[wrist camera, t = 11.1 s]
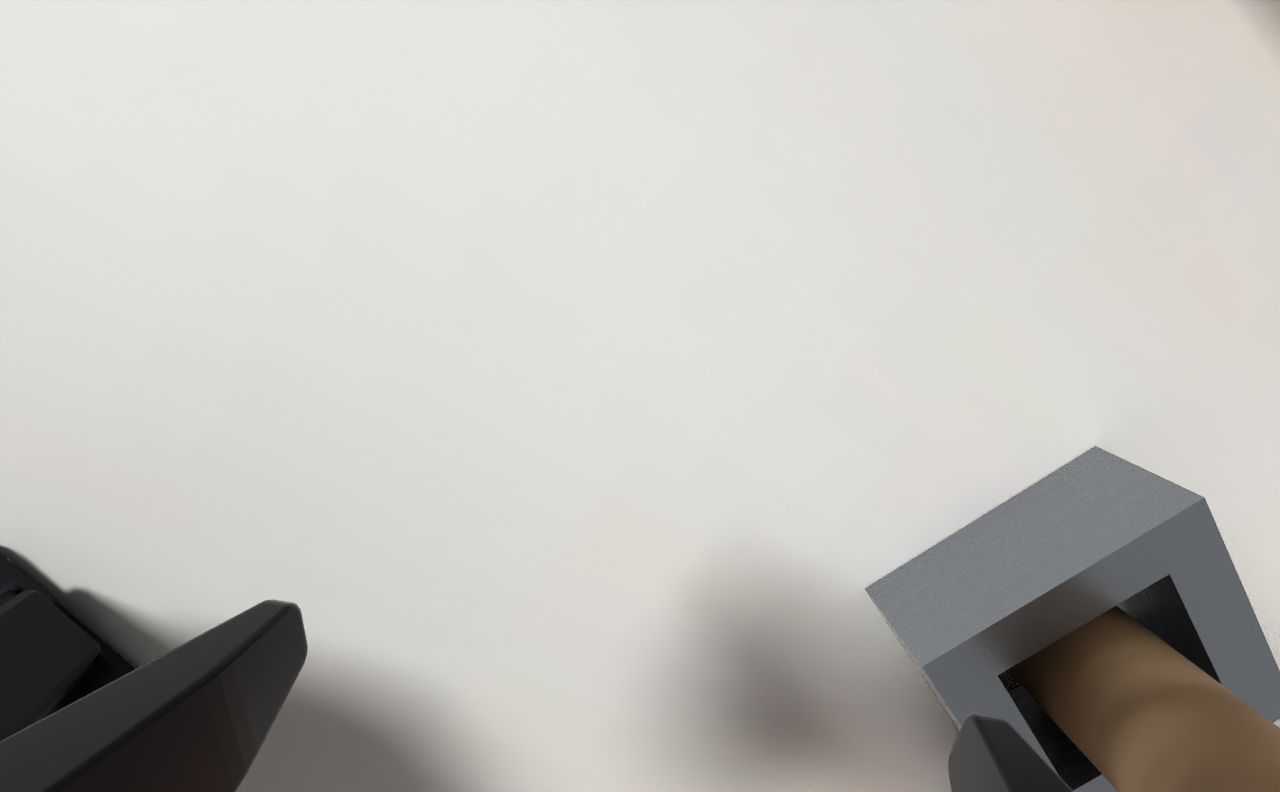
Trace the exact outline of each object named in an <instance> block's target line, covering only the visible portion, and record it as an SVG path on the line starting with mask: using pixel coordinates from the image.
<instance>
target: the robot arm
mask: <svg viewBox="0 0 1280 792" xmlns="http://www.w3.org/2000/svg"><path fill="white" fill-rule="evenodd" d="M306 656H307V640H306V635H305V630H304V625H303V619H302V614H301V610H300V608H299V607H298V606H297V604H295V603H291V602H285V601H278V600H266V601H264V602H261V603H259V604H257V605H255V606H254V607H252V608H250V609H248V610H246V611H244V612H242V613H240V614H239V615H237V616H235V617H233V618H231V619H229V620H227V621H225V622H224V623H222V624H220V625H218V626H216V627H214V628H212V629H210V630H209V631H207V632H205V633H203V634H201V635H199V636H197V637H195V638H194V639H192V640H190V641H188V642H186V643H184V644H182V645H180V646H179V647H177V648H175V649H173V650H171V651H169V652H167V653H165V654H164V655H162V656H160V657H158V658H156V659H154V660H152V661H150V662H149V663H147V664H145V665H143V666H141V667H139V668H137V669H134V668H133V667H132V666H131V665H130V664H129V663H127V662H126V661H125V660H124V659H123V658H122V657H121V656H119V655H118V654H117V653H116V652H115V651H114V650H112V649H111V648H110V647H109V646H108V645H107V644H105V643H104V642H103V641H102V640H101V639H100V638H98V637H97V636H96V635H95V634H94V633H93V632H91V631H90V630H89V629H88V628H87V627H86V626H85V625H83V624H82V623H81V622H80V621H79V620H78V619H76V618H75V617H74V616H73V615H72V614H71V613H69V612H68V611H67V610H66V609H65V608H64V607H62V606H61V605H60V604H59V603H58V602H57V601H55V600H54V599H53V598H52V597H51V596H50V595H49V594H47V593H46V592H45V591H44V590H43V589H42V588H40V587H39V586H38V585H37V584H36V583H35V582H33V581H32V580H31V579H30V578H29V577H28V576H26V575H25V574H24V573H23V572H22V571H21V570H20V569H18V568H17V567H16V566H15V565H14V564H13V563H11V562H10V561H9V560H8V559H7V558H6V557H4V556H3V555H2V554H1V553H0V792H235V791H236V790H237V788H238V787H239V785H240V783H241V782H242V780H243V778H244V777H245V775H246V774H247V772H248V770H249V768H250V766H251V765H252V763H253V761H254V759H255V757H256V755H257V754H258V752H259V750H260V748H261V746H262V744H263V742H264V740H265V738H266V736H267V734H268V732H269V730H270V729H271V727H272V725H273V723H274V721H275V719H276V717H277V715H278V713H279V711H280V709H281V707H282V705H283V703H284V701H285V700H286V698H287V696H288V694H289V692H290V690H291V688H292V686H293V684H294V682H295V680H296V678H297V676H298V674H299V672H300V671H301V669H302V667H303V664H304V662H305V659H306ZM948 768H949V778H950V784H951V790H952V792H1074V791H1073V790H1072V789H1071V788H1070V787H1069V786H1068V785H1067V784H1066V783H1065V782H1064V781H1063V780H1062V779H1061V778H1060V777H1059V776H1058V774H1057V773H1056V772H1055V771H1054V770H1053V769H1052V768H1051V767H1050V766H1049V765H1048V764H1047V763H1046V762H1045V761H1044V760H1043V759H1042V757H1041V756H1040V755H1039V754H1038V753H1037V752H1036V751H1035V750H1034V749H1033V748H1032V747H1031V746H1030V745H1029V744H1028V743H1027V742H1026V740H1025V739H1024V738H1023V737H1022V736H1021V735H1020V734H1019V733H1018V732H1017V731H1016V730H1015V729H1014V728H1013V727H1012V726H1011V725H1010V724H1009V723H1008V722H1007V721H1006V720H1004V719H1003V718H1000V717H997V716H990V715H984V714H978V713H970V714H969V715H967V716H966V718H965V719H964V721H963V724H962V726H961V728H960V731H959V733H958V736H957V738H956V740H955V743H954V745H953V748H952V750H951V753H950V756H949V764H948Z"/></svg>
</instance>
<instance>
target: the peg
mask: <svg viewBox="0 0 1280 792" xmlns="http://www.w3.org/2000/svg"><path fill="white" fill-rule="evenodd" d="M1008 671H1009V672H1010V674H1011V675H1012V676H1013V677H1014V678H1015V679H1016V680H1017V681H1018V682H1019V683H1020V684H1021V686H1022V687H1023V688H1024V689H1025V690H1026V691H1027V692H1028V693H1029V694H1030V695H1031V697H1032V698H1033V699H1034V700H1035V701H1036V702H1037V703H1038V704H1039V705H1040V706H1041V708H1042V709H1043V710H1044V711H1045V712H1046V713H1047V714H1048V715H1049V716H1050V717H1051V719H1052V720H1053V721H1054V722H1055V723H1056V724H1057V725H1058V726H1059V727H1060V728H1061V730H1062V731H1063V732H1064V733H1065V734H1066V735H1067V736H1068V737H1069V738H1070V739H1071V741H1072V742H1073V743H1074V744H1075V745H1076V746H1077V747H1078V748H1079V749H1080V750H1081V752H1082V753H1083V754H1084V755H1085V756H1086V757H1087V758H1088V759H1089V760H1090V761H1091V763H1092V764H1093V765H1094V766H1095V767H1096V768H1097V769H1098V770H1099V771H1100V772H1101V774H1102V775H1103V776H1104V777H1105V778H1106V779H1107V780H1108V781H1109V782H1110V783H1111V785H1112V786H1113V787H1114V788H1115V789H1116V790H1117V791H1118V792H1280V728H1279V727H1277V726H1276V725H1275V724H1273V723H1272V722H1271V721H1269V720H1268V719H1267V718H1265V717H1264V716H1263V715H1261V714H1260V713H1259V712H1257V711H1256V710H1255V709H1253V708H1252V707H1251V706H1249V705H1248V704H1247V703H1245V702H1244V701H1243V700H1241V699H1240V698H1239V697H1237V696H1236V695H1235V694H1233V693H1232V692H1231V691H1229V690H1228V689H1227V688H1225V687H1224V686H1223V685H1221V684H1220V683H1219V682H1217V681H1216V680H1215V679H1213V678H1212V677H1211V676H1209V675H1208V674H1207V673H1205V672H1204V671H1203V670H1201V669H1200V668H1199V667H1197V666H1196V665H1195V664H1193V663H1192V662H1191V661H1190V660H1188V659H1187V658H1186V657H1184V656H1183V655H1182V654H1180V653H1179V652H1178V651H1176V650H1175V649H1174V648H1172V647H1171V646H1170V645H1168V644H1167V643H1166V642H1164V641H1163V640H1162V639H1160V638H1159V637H1158V636H1156V635H1155V634H1154V633H1152V632H1151V631H1150V630H1148V629H1147V628H1146V627H1144V626H1143V625H1142V624H1140V623H1139V622H1138V621H1136V620H1135V619H1134V618H1132V617H1131V616H1130V615H1128V614H1127V613H1126V612H1124V611H1123V610H1122V609H1120V608H1119V607H1118V606H1114V607H1113V608H1111V609H1109V610H1108V611H1106V612H1104V613H1103V614H1101V615H1099V616H1098V617H1096V618H1094V619H1092V620H1091V621H1089V622H1087V623H1086V624H1084V625H1082V626H1081V627H1079V628H1077V629H1076V630H1074V631H1072V632H1070V633H1069V634H1067V635H1065V636H1064V637H1062V638H1060V639H1059V640H1057V641H1055V642H1053V643H1052V644H1050V645H1048V646H1047V647H1045V648H1043V649H1042V650H1040V651H1038V652H1037V653H1035V654H1033V655H1031V656H1030V657H1028V658H1026V659H1025V660H1023V661H1021V662H1020V663H1018V664H1016V665H1015V666H1013V667H1011V668H1009V669H1008Z"/></svg>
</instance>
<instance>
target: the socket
mask: <svg viewBox="0 0 1280 792" xmlns="http://www.w3.org/2000/svg"><path fill="white" fill-rule="evenodd" d="M865 590H866V591H867V593H868V594H869V596H870V597H871V599H872V601H873V602H874V604H875V605H876V607H877V608H878V610H879V611H880V613H881V614H882V616H883V617H884V619H885V620H886V622H887V623H888V625H889V626H890V628H891V629H892V631H893V632H894V634H895V635H896V637H897V638H898V640H899V641H900V643H901V644H902V646H903V647H904V649H905V650H906V652H907V653H908V655H909V656H910V658H911V659H912V661H913V662H914V664H915V665H916V667H917V668H918V670H919V671H920V673H921V674H922V676H923V678H924V679H925V681H926V682H927V684H928V685H929V687H930V688H931V690H932V691H933V693H934V694H935V696H936V697H937V699H938V700H939V702H940V703H941V705H942V706H943V708H944V709H945V711H946V712H947V714H948V715H949V717H950V718H951V720H952V721H953V723H954V724H955V726H956V727H957V729H958V730H959V731H960V728H961V726H962V724H963V721H964V719H965V718H966V716H967V715H969V714H970V713H978V714H984V715H990V716H997V717H1000V718H1003V719H1004V720H1006V721H1007V722H1008V723H1009V724H1010V725H1011V726H1012V727H1013V728H1014V729H1015V730H1016V731H1017V732H1018V733H1019V734H1020V735H1021V736H1022V737H1023V738H1024V739H1025V740H1026V742H1027V743H1028V744H1029V745H1030V746H1031V747H1032V748H1033V749H1034V750H1035V751H1036V752H1037V753H1038V754H1039V755H1040V756H1041V757H1042V759H1043V760H1044V761H1045V762H1046V763H1047V764H1048V765H1049V766H1050V767H1051V768H1052V769H1053V770H1054V771H1055V772H1056V773H1057V774H1058V776H1059V777H1060V778H1061V779H1062V780H1063V781H1064V782H1065V783H1066V784H1067V785H1068V786H1069V787H1070V788H1071V789H1072V790H1073V791H1074V792H1118V791H1117V790H1116V789H1115V788H1114V787H1113V786H1112V785H1111V783H1110V782H1109V781H1108V780H1107V779H1106V778H1105V777H1104V776H1103V775H1102V774H1101V772H1100V771H1099V770H1098V769H1097V768H1096V767H1095V766H1094V765H1093V764H1092V763H1091V761H1090V760H1089V759H1088V758H1087V757H1086V756H1085V755H1084V754H1083V753H1082V752H1081V750H1080V749H1079V748H1078V747H1077V746H1076V745H1075V744H1074V743H1073V742H1072V741H1071V739H1070V738H1069V737H1068V736H1067V735H1066V734H1065V733H1064V732H1063V731H1062V730H1061V728H1060V727H1059V726H1058V725H1057V724H1056V723H1055V722H1054V721H1053V720H1052V719H1051V717H1050V716H1049V715H1048V714H1047V713H1046V712H1045V711H1044V710H1043V709H1042V708H1041V706H1040V705H1039V704H1038V703H1037V702H1036V701H1035V700H1034V699H1033V698H1032V697H1031V695H1030V694H1029V693H1028V692H1027V691H1026V690H1025V689H1024V688H1023V687H1022V686H1021V685H1020V686H1018V687H1017V688H1015V689H1013V690H1012V691H1010V692H1007V690H1006V689H1005V687H1004V685H1003V684H1002V682H1001V680H1000V679H999V677H998V675H999V674H1001V673H1003V672H1004V671H1006V670H1008V669H1009V668H1011V667H1013V666H1015V665H1016V664H1018V663H1020V662H1021V661H1023V660H1025V659H1026V658H1028V657H1030V656H1031V655H1033V654H1035V653H1037V652H1038V651H1040V650H1042V649H1043V648H1045V647H1047V646H1048V645H1050V644H1052V643H1053V642H1055V641H1057V640H1059V639H1060V638H1062V637H1064V636H1065V635H1067V634H1069V633H1070V632H1072V631H1074V630H1076V629H1077V628H1079V627H1081V626H1082V625H1084V624H1086V623H1087V622H1089V621H1091V620H1092V619H1094V618H1096V617H1098V616H1099V615H1101V614H1103V613H1104V612H1106V611H1108V610H1109V609H1111V608H1113V607H1114V606H1116V605H1118V606H1119V608H1120V609H1122V610H1123V611H1124V612H1126V613H1127V614H1128V615H1130V616H1131V617H1132V618H1134V619H1135V620H1136V621H1138V622H1139V623H1140V624H1142V625H1143V626H1144V627H1146V628H1147V629H1148V630H1150V631H1151V632H1152V633H1154V634H1155V635H1156V636H1158V637H1159V638H1160V639H1162V640H1163V641H1164V642H1166V643H1167V644H1168V645H1170V646H1171V647H1172V648H1174V649H1175V650H1176V651H1178V652H1179V653H1180V654H1182V655H1183V656H1184V657H1186V658H1187V659H1188V660H1190V661H1191V662H1192V663H1193V664H1195V665H1196V666H1197V667H1199V668H1200V669H1201V670H1203V671H1204V672H1205V673H1207V674H1208V675H1209V676H1211V677H1212V678H1213V679H1215V680H1216V681H1217V682H1219V683H1220V684H1221V685H1223V686H1224V687H1225V688H1227V689H1228V690H1229V691H1231V692H1232V693H1233V694H1235V695H1236V696H1237V697H1239V698H1240V699H1241V700H1243V701H1244V702H1245V703H1247V704H1248V705H1249V706H1251V707H1252V708H1253V709H1255V710H1256V711H1257V712H1259V713H1260V714H1261V715H1263V716H1264V717H1265V718H1267V719H1268V720H1269V721H1271V722H1272V723H1273V722H1275V721H1276V720H1278V719H1280V671H1279V669H1278V666H1277V664H1276V662H1275V659H1274V657H1273V655H1272V652H1271V650H1270V648H1269V645H1268V643H1267V641H1266V639H1265V636H1264V634H1263V632H1262V629H1261V627H1260V625H1259V622H1258V620H1257V618H1256V615H1255V613H1254V611H1253V608H1252V606H1251V604H1250V602H1249V599H1248V597H1247V595H1246V592H1245V590H1244V588H1243V585H1242V583H1241V581H1240V578H1239V576H1238V574H1237V572H1236V569H1235V567H1234V565H1233V562H1232V560H1231V558H1230V555H1229V553H1228V551H1227V548H1226V546H1225V544H1224V541H1223V539H1222V537H1221V535H1220V532H1219V530H1218V528H1217V525H1216V523H1215V521H1214V518H1213V516H1212V514H1211V511H1210V509H1209V507H1208V504H1207V502H1206V500H1205V498H1204V497H1202V496H1200V495H1198V494H1196V493H1194V492H1192V491H1190V490H1187V489H1185V488H1183V487H1181V486H1179V485H1177V484H1175V483H1173V482H1171V481H1168V480H1166V479H1164V478H1162V477H1160V476H1158V475H1156V474H1154V473H1151V472H1149V471H1147V470H1145V469H1143V468H1141V467H1139V466H1137V465H1134V464H1132V463H1130V462H1128V461H1126V460H1124V459H1122V458H1120V457H1118V456H1115V455H1113V454H1111V453H1109V452H1107V451H1105V450H1103V449H1101V448H1098V447H1096V446H1095V447H1094V448H1092V449H1090V450H1089V451H1087V452H1085V453H1084V454H1082V455H1081V456H1079V457H1077V458H1076V459H1074V460H1072V461H1071V462H1069V463H1068V464H1066V465H1064V466H1063V467H1061V468H1060V469H1058V470H1056V471H1055V472H1053V473H1051V474H1050V475H1048V476H1047V477H1045V478H1043V479H1042V480H1040V481H1039V482H1037V483H1035V484H1034V485H1032V486H1030V487H1029V488H1027V489H1026V490H1024V491H1022V492H1021V493H1019V494H1017V495H1016V496H1014V497H1013V498H1011V499H1009V500H1008V501H1006V502H1005V503H1003V504H1001V505H1000V506H998V507H996V508H995V509H993V510H992V511H990V512H988V513H987V514H985V515H983V516H982V517H980V518H979V519H977V520H975V521H974V522H972V523H971V524H969V525H967V526H966V527H964V528H962V529H961V530H959V531H958V532H956V533H954V534H953V535H951V536H950V537H948V538H946V539H945V540H943V541H941V542H940V543H938V544H937V545H935V546H933V547H932V548H930V549H928V550H927V551H925V552H924V553H922V554H920V555H919V556H917V557H916V558H914V559H912V560H911V561H909V562H907V563H906V564H904V565H903V566H901V567H899V568H898V569H896V570H895V571H893V572H891V573H890V574H888V575H886V576H885V577H883V578H882V579H880V580H878V581H877V582H875V583H873V584H872V585H870V586H869V587H867V588H865Z"/></svg>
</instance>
